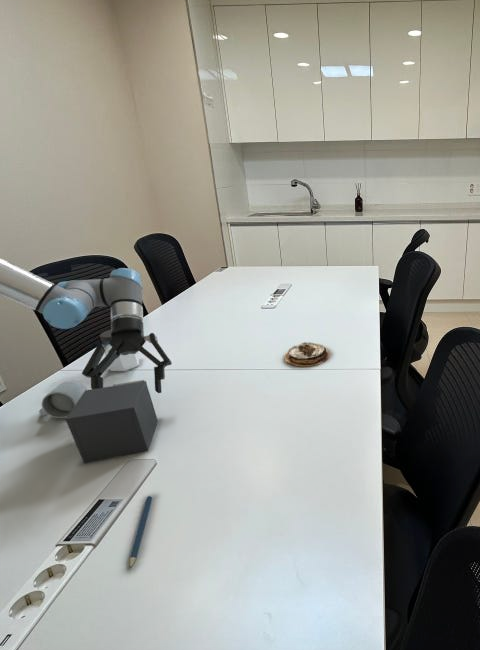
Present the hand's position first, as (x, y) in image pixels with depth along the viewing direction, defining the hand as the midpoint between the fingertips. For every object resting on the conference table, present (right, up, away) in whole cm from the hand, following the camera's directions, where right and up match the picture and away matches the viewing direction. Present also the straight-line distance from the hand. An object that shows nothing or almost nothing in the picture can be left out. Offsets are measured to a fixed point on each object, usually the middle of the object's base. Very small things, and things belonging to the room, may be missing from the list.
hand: (129, 396), depth 99 cm
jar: (-18, +6, +28) cm, 34 cm away
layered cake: (+41, +9, +31) cm, 52 cm away
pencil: (+21, -19, -30) cm, 42 cm away
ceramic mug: (-20, -5, +5) cm, 21 cm away
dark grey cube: (+3, -9, -7) cm, 12 cm away
